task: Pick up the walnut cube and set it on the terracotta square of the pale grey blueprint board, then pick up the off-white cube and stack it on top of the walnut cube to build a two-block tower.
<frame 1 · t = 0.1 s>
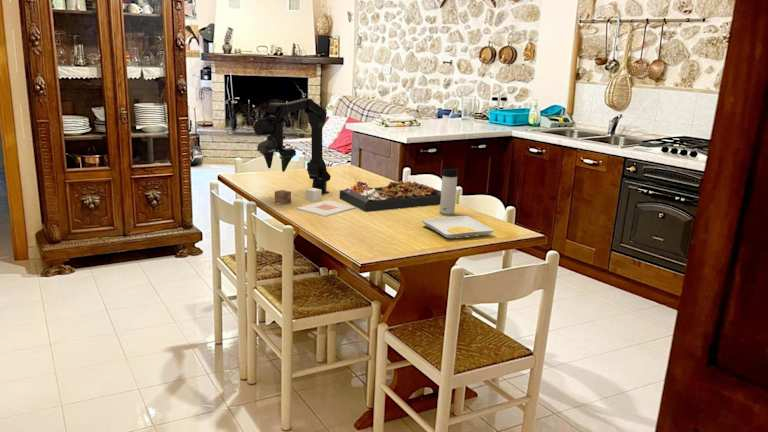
hand: (276, 169, 267), 14 cm above the table, fingers open, 9 cm apart
blueprint board: (326, 208, 265), on the table
travel mug: (447, 214, 266), on the table
walnut cube: (282, 202, 271), on the table
food platter: (395, 202, 285), on the table
salad plate: (456, 232, 242), on the table
offwhite cube: (313, 200, 278), on the table
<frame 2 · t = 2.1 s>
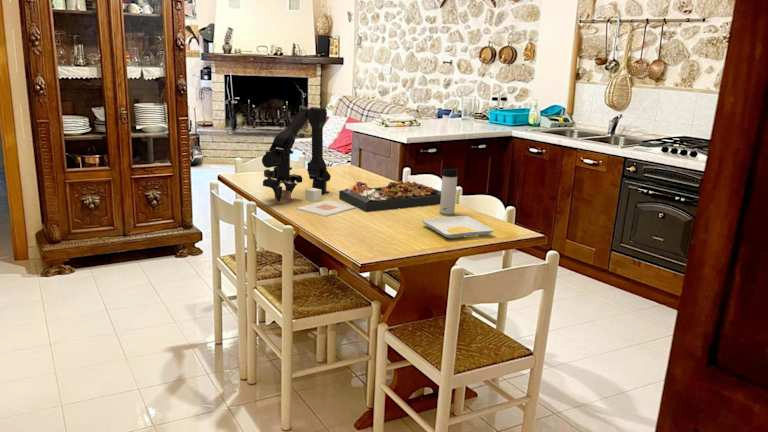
hand: (282, 200, 271), 1 cm above the table, fingers closed on walnut cube, 5 cm apart
walnut cube: (282, 202, 271), on the table, touching gripper
everything else where it was.
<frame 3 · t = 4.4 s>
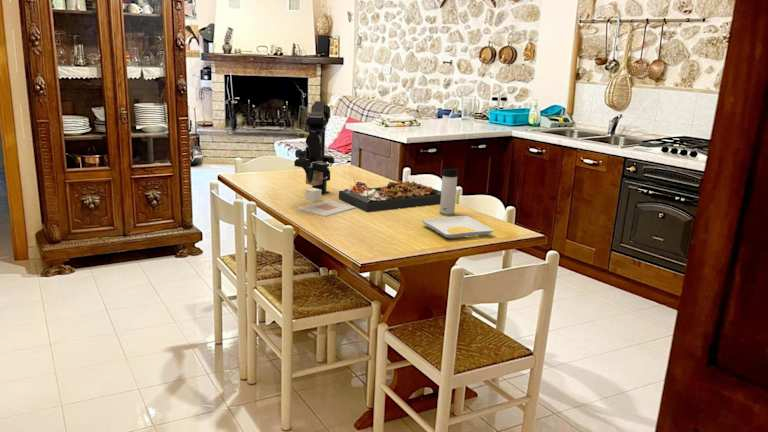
hand: (314, 181, 264), 11 cm above the table, fingers closed on walnut cube, 5 cm apart
walnut cube: (314, 183, 264), point 10 cm above the table, touching gripper
everything else where it was.
when the fingers open (2 cm above the table, at t = 6.8 s): walnut cube stays where it is, resting on blueprint board.
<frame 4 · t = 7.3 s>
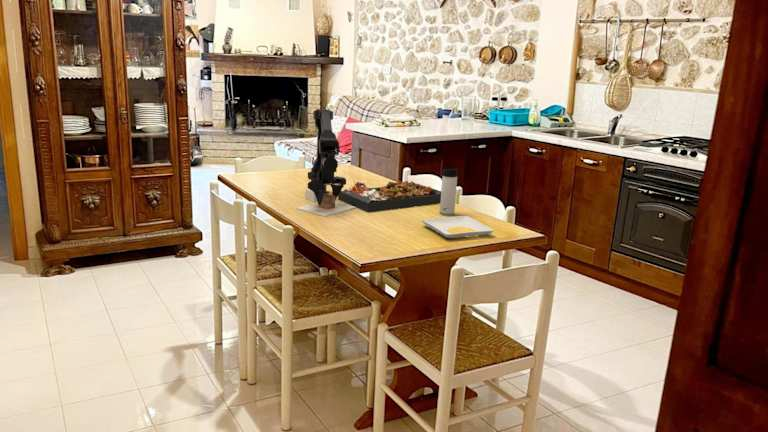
hand: (326, 203, 264), 2 cm above the table, fingers open, 9 cm apart
walnut cube: (326, 207, 265), point 1 cm above the table, touching blueprint board
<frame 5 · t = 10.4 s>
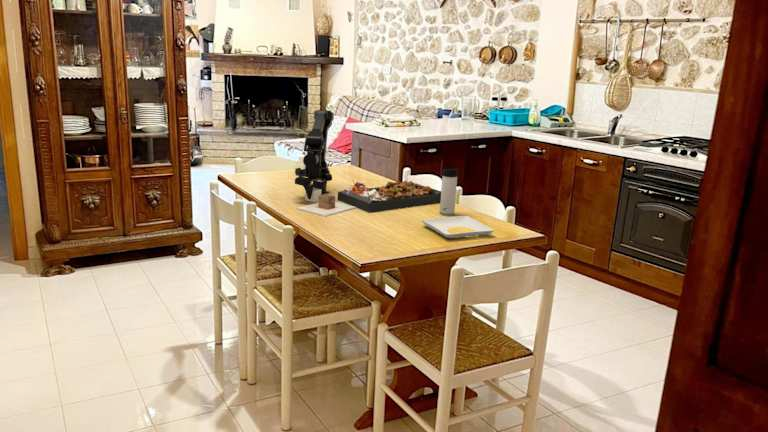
hand: (313, 197, 278), 1 cm above the table, fingers closed on offwhite cube, 5 cm apart
offwhite cube: (313, 200, 278), on the table, touching gripper
when the fingers open (8 cm above the table, at t = 14.0 s): offwhite cube stays where it is, resting on walnut cube.
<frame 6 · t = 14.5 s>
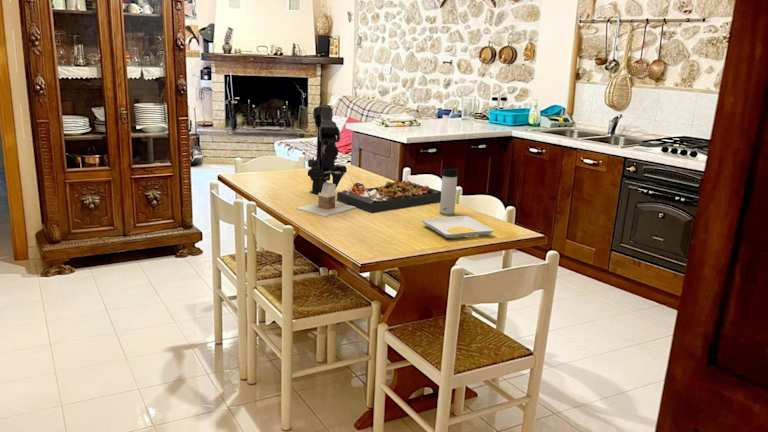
hand: (327, 191, 263), 8 cm above the table, fingers open, 9 cm apart
walnut cube: (326, 207, 265), point 1 cm above the table, touching blueprint board, offwhite cube
offwhite cube: (326, 195, 264), point 6 cm above the table, touching walnut cube
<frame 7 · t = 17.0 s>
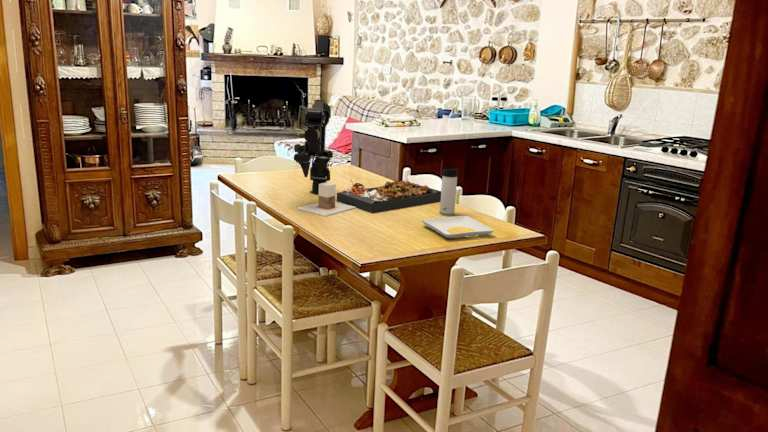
hand: (313, 175, 266), 13 cm above the table, fingers open, 9 cm apart
at the end: walnut cube 0.0 cm off-centre on the blueprint board, point 0.7 cm above the blueprint board's base; offwhite cube 0.1 cm off-centre on the blueprint board, point 5.7 cm above the blueprint board's base; offwhite cube tilted 0° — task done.
